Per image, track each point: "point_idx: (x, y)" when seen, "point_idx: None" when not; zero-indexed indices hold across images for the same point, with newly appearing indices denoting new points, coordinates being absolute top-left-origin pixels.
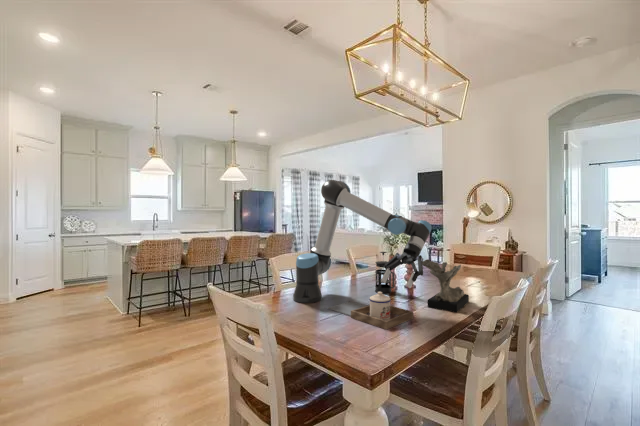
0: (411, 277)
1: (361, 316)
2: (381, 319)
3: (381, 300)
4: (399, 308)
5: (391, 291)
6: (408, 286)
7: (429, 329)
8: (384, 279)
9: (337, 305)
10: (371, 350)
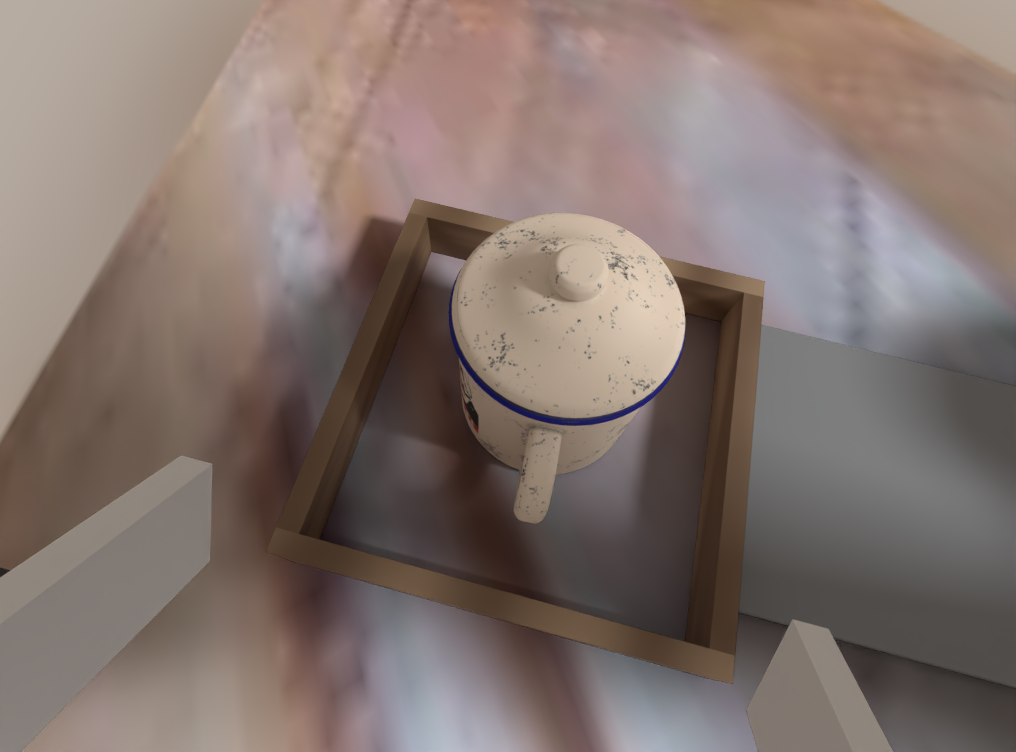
0: (18, 570)
1: None
2: (464, 223)
3: (510, 225)
4: (427, 580)
5: None
6: (201, 514)
7: (131, 377)
8: (788, 691)
9: None
10: (394, 8)
